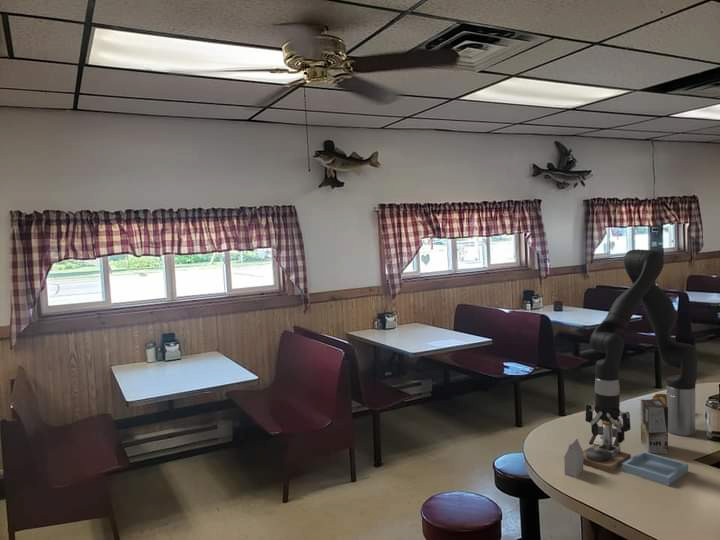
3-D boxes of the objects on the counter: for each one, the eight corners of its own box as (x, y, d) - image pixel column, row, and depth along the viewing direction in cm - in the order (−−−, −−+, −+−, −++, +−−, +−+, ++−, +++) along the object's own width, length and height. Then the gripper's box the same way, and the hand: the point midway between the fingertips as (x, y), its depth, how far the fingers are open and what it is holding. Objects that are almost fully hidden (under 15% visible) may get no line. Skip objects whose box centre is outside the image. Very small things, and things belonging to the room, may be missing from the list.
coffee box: (668, 454, 186) (668, 407, 185) (648, 453, 187) (648, 407, 186) (659, 443, 195) (659, 398, 194) (640, 442, 196) (640, 398, 195)
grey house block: (583, 469, 177) (583, 439, 177) (576, 477, 172) (576, 446, 171) (571, 466, 180) (571, 437, 179) (564, 474, 174) (564, 443, 174)
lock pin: (605, 449, 187) (605, 417, 186) (614, 452, 185) (614, 420, 184) (600, 452, 185) (600, 420, 184) (610, 454, 183) (609, 422, 182)
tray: (642, 458, 184) (642, 451, 183) (688, 471, 173) (688, 464, 172) (622, 471, 175) (621, 463, 175) (668, 486, 164) (668, 478, 164)
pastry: (644, 412, 227) (644, 393, 226) (655, 404, 235) (655, 386, 235) (683, 420, 216) (683, 400, 216) (692, 411, 225) (692, 392, 224)
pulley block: (596, 449, 192) (595, 435, 192) (630, 460, 183) (630, 445, 182) (574, 461, 183) (574, 447, 183) (609, 473, 174) (609, 457, 174)
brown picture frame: (623, 429, 208) (616, 447, 192) (623, 432, 208) (616, 449, 192) (597, 426, 212) (589, 442, 197) (597, 428, 212) (589, 445, 197)
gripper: (634, 393, 180) (634, 441, 181) (592, 384, 191) (593, 430, 193) (622, 398, 176) (623, 447, 177) (581, 389, 187) (581, 436, 188)
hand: (607, 438), depth 185 cm, fingers open, 8 cm apart
